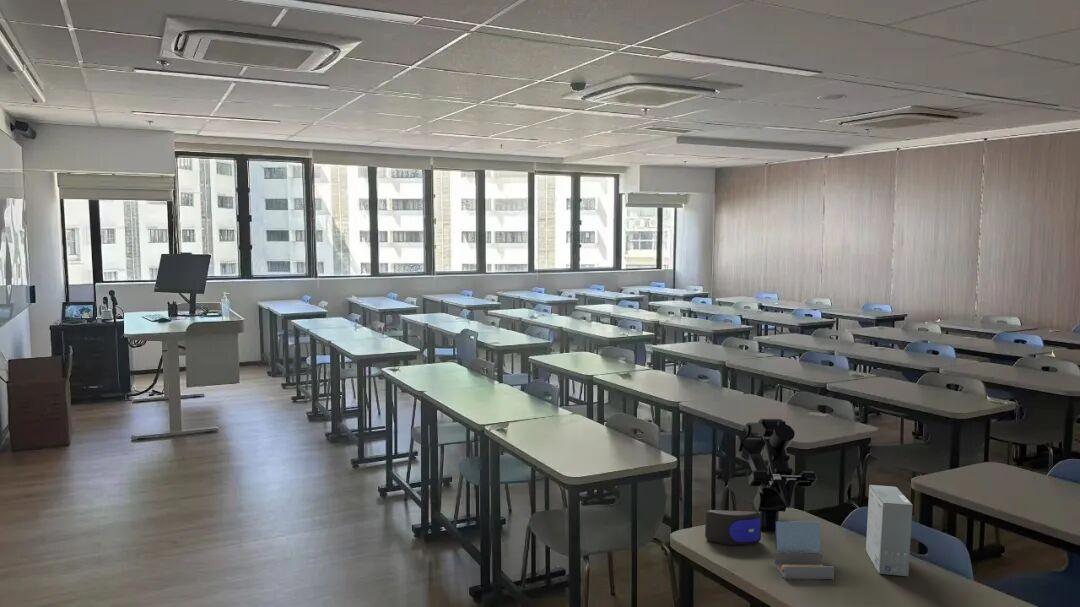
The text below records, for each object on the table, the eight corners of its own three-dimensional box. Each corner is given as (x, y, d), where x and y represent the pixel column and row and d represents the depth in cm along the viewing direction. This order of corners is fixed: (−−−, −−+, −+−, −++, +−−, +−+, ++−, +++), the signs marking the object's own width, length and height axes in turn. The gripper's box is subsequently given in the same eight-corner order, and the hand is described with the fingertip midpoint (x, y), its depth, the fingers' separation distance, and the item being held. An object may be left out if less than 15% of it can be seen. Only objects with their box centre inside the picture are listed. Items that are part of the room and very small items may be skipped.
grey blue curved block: (706, 545, 210) (707, 514, 209) (704, 538, 214) (705, 508, 214) (763, 547, 208) (764, 516, 208) (759, 541, 213) (760, 510, 212)
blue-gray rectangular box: (776, 552, 197) (775, 551, 197) (820, 552, 197) (819, 551, 197) (776, 521, 197) (775, 521, 198) (819, 522, 197) (818, 521, 198)
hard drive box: (909, 577, 190) (913, 505, 189) (878, 574, 192) (882, 503, 190) (893, 552, 206) (896, 485, 204) (864, 550, 207) (867, 483, 205)
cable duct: (774, 564, 197) (774, 552, 197) (821, 565, 197) (821, 552, 197) (784, 579, 189) (785, 566, 188) (833, 579, 189) (834, 567, 188)
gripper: (799, 468, 221) (811, 517, 211) (740, 467, 221) (748, 516, 211) (811, 452, 212) (824, 502, 203) (749, 451, 212) (759, 501, 202)
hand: (788, 506), depth 205 cm, fingers closed
